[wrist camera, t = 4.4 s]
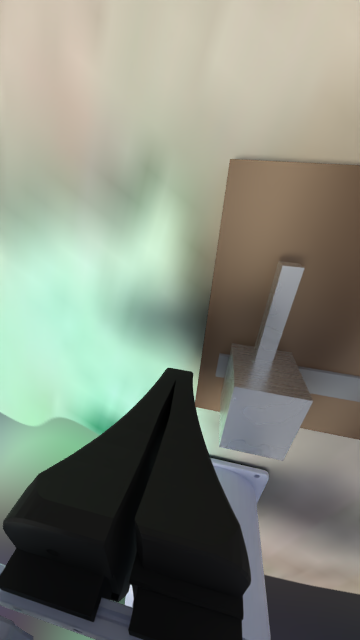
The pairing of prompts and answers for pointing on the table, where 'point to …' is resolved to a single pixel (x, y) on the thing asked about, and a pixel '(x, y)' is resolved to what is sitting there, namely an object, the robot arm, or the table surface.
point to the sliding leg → (265, 381)
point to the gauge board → (314, 288)
